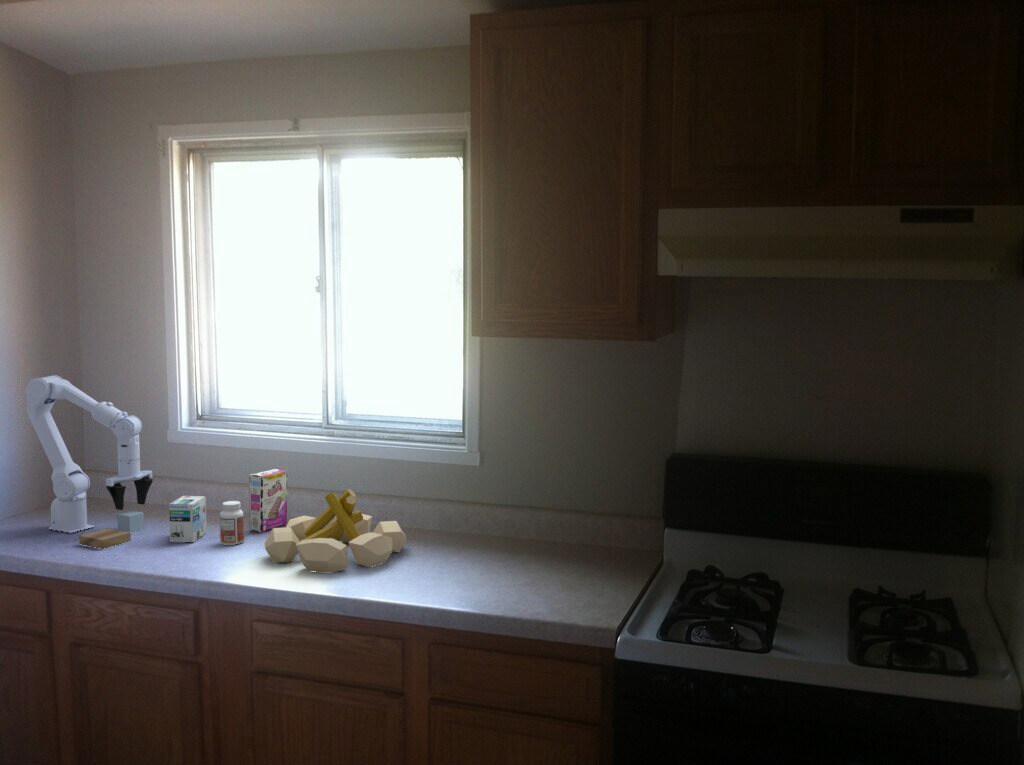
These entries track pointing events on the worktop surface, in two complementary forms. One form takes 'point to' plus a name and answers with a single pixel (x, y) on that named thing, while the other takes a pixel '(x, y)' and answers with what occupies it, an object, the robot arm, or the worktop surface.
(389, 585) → the worktop surface
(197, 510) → the light bulb box
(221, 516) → the pill bottle
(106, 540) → the walnut slab
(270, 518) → the candy bar box
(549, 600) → the worktop surface
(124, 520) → the slate cube
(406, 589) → the worktop surface
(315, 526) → the campfire
